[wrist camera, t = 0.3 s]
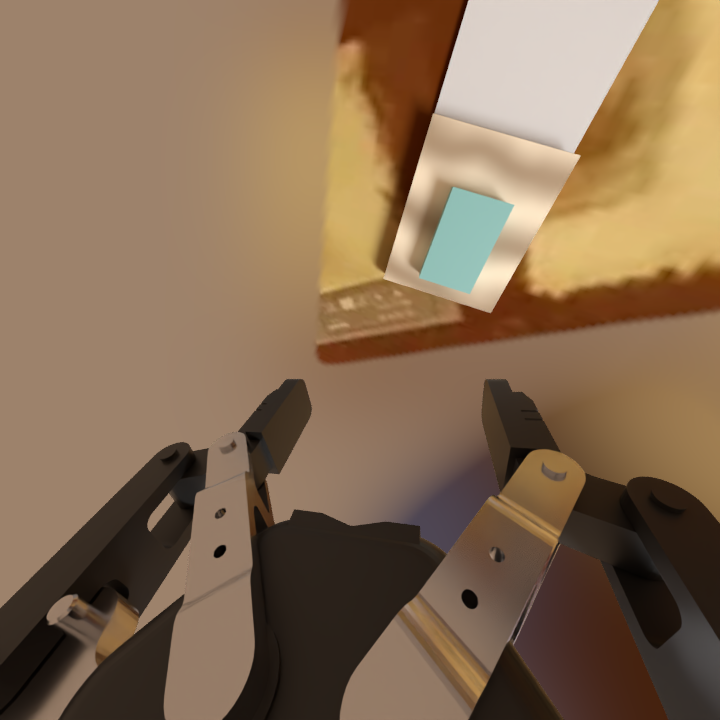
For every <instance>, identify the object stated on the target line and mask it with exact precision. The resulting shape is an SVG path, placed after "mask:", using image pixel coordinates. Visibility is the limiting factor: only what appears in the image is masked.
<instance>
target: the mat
mask: <svg viewBox="0 0 720 720" xmlns="http://www.w3.org/2000/svg"><path fill="white" fill-rule="evenodd" d="M658 1H659V0H469V1H468V4H467V7H466V11H465V14H464V17H463V20H462V24H461V27H460V30H459V34H458V37H457V40H456V44H455V47H454V50H453V53H452V57H451V60H450V63H449V67H448V70H447V73H446V77H445V80H444V83H443V87H442V90H441V93H440V96H439V100H438V103H437V106H436V110H435V113H434V114H438V115H441V116H445V117H448V118H452V119H455V120H459V121H462V122H466V123H469V124H472V125H476V126H479V127H483V128H486V129H490V130H493V131H497V132H500V133H504V134H507V135H511V136H514V137H518V138H521V139H525V140H528V141H531V142H535V143H538V144H542V145H545V146H549V147H552V148H556V149H559V150H563V151H566V152H570V153H574V152H575V150H576V148H577V146H578V144H579V143H580V141H581V139H582V137H583V135H584V134H585V132H586V130H587V128H588V126H589V125H590V123H591V121H592V119H593V117H594V116H595V114H596V112H597V110H598V109H599V107H600V105H601V103H602V101H603V100H604V98H605V96H606V94H607V92H608V91H609V89H610V87H611V85H612V83H613V82H614V80H615V78H616V76H617V74H618V73H619V71H620V69H621V67H622V65H623V64H624V62H625V60H626V58H627V56H628V55H629V53H630V51H631V49H632V48H633V46H634V44H635V42H636V40H637V39H638V37H639V35H640V33H641V31H642V30H643V28H644V26H645V24H646V22H647V21H648V19H649V17H650V15H651V13H652V12H653V10H654V8H655V6H656V4H657V3H658Z"/></svg>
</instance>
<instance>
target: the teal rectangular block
mask: <svg viewBox="0 0 720 720" xmlns="http://www.w3.org/2000/svg"><path fill="white" fill-rule="evenodd" d="M513 207H514V205H513V204H510V203H506V202H503V201H500V200H496V199H493V198H490V197H487V196H483V195H480V194H477V193H473V192H470V191H467V190H463V189H460V188H457V187H451V190H450V192H449V195H448V198H447V200H446V203H445V206H444V208H443V211H442V214H441V216H440V219H439V222H438V224H437V227H436V230H435V232H434V235H433V238H432V241H431V243H430V246H429V249H428V251H427V254H426V257H425V259H424V262H423V265H422V267H421V270H420V273H419V278H420V279H424V280H427V281H430V282H433V283H436V284H439V285H442V286H446V287H449V288H452V289H455V290H458V291H461V292H464V293H468V294H470V293H471V291H472V289H473V287H474V285H475V283H476V281H477V279H478V277H479V275H480V273H481V271H482V269H483V267H484V265H485V263H486V261H487V259H488V257H489V255H490V253H491V251H492V249H493V247H494V245H495V243H496V241H497V239H498V237H499V235H500V233H501V231H502V229H503V227H504V225H505V223H506V221H507V219H508V217H509V215H510V213H511V211H512V209H513Z"/></svg>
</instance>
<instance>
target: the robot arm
mask: <svg viewBox="0 0 720 720" xmlns="http://www.w3.org/2000/svg"><path fill="white" fill-rule="evenodd" d="M311 410H312V407H311V402H310V399H309V395H308V392H307V388H306V385H305V382H304V380H302V379H287V380H285V381H284V383H283V384H282V385H281V386H280V388H279V389H276V390H275V391H273V392H272V393H271V394H269V395H268V396H267V397H266V398H265V399H264V401H263V402H262V403H261V405H259V407H258V408H257V409H256V411H254V413H253V414H252V415H251V417H250V418H249V419H248V420H247V421H246V423H245V424H244V425H243V426H242V427H241V429H240V430H239V431H238V432H232V433H229V434H226V435H224V436H222V437H220V438H219V439H217V440H216V441H215V442H214V443H213V444H212V445H211V447H210V448H207V449H202V450H197V451H192V449H191V447H190V446H189V444H187V443H184V442H180V443H176V444H173V445H170V446H168V447H166V448H164V449H162V450H161V451H160V452H158V453H157V454H156V455H155V456H154V457H153V458H152V459H151V460H150V461H149V462H148V463H147V464H146V465H145V466H144V467H143V468H142V469H141V470H140V471H139V472H138V473H137V474H136V475H135V476H134V477H133V478H132V479H131V480H130V481H129V482H128V483H127V484H125V486H124V487H122V488H121V490H119V491H118V492H117V493H116V494H115V495H114V496H113V498H111V499H110V500H109V501H108V503H106V504H105V505H104V506H103V507H102V508H101V509H100V510H99V511H98V512H97V513H96V514H95V515H94V516H93V517H92V518H91V519H90V520H89V521H88V522H87V523H86V524H85V525H84V526H83V527H82V528H81V529H80V530H79V531H78V532H77V533H76V534H75V535H74V536H73V537H72V538H71V539H70V540H69V541H68V542H67V543H66V544H65V545H64V546H63V547H62V548H61V549H60V550H59V551H58V552H57V553H56V554H55V555H54V556H53V557H52V558H51V559H50V560H49V561H48V562H47V563H46V564H45V565H44V566H43V567H42V568H41V569H40V570H39V571H38V572H37V573H36V574H35V575H34V576H33V577H32V578H31V579H30V580H29V581H28V582H27V583H26V584H25V585H24V586H23V587H22V588H21V589H20V590H18V591H17V592H16V593H15V595H13V596H12V597H11V598H10V599H9V600H8V601H7V603H5V604H4V605H3V606H2V607H1V608H0V720H564V719H563V717H562V716H561V714H560V713H559V712H558V710H557V708H556V707H555V706H554V704H553V703H552V701H551V700H550V698H549V697H548V695H547V694H546V692H545V691H544V689H543V688H542V687H541V685H540V684H539V682H538V681H537V679H536V678H535V676H534V675H533V674H532V672H531V671H530V669H529V668H528V666H527V665H526V663H525V662H524V660H523V659H522V657H521V656H520V655H519V653H518V652H517V650H516V649H515V647H514V646H513V645H514V643H515V641H516V639H517V637H518V634H519V632H520V630H521V628H522V626H523V624H524V622H525V619H526V617H527V615H528V613H529V610H530V608H531V606H532V604H533V601H534V599H535V597H536V595H537V592H538V590H539V588H540V586H541V584H542V582H543V579H544V577H545V575H546V573H547V571H548V569H549V567H550V565H551V562H552V560H553V558H554V556H555V554H556V552H557V550H558V548H559V545H560V544H563V545H565V546H568V547H570V548H572V549H575V550H577V551H580V552H582V553H585V554H587V555H590V556H592V557H594V558H596V559H599V560H600V561H601V563H602V566H603V568H604V570H605V573H606V575H607V577H608V580H609V582H610V584H611V587H612V589H613V591H614V593H615V596H616V598H617V601H618V603H619V605H620V608H621V610H622V612H623V614H624V617H625V619H626V621H627V624H628V626H629V629H630V631H631V633H632V635H633V638H634V640H635V642H636V645H637V647H638V649H639V652H640V654H641V656H642V659H643V661H644V663H645V666H646V668H647V670H648V673H649V675H650V677H651V680H652V682H653V684H654V687H655V689H656V691H657V694H658V696H659V698H660V701H661V703H662V705H663V708H664V709H665V712H666V715H667V717H668V719H669V720H720V523H719V522H718V521H717V520H716V518H715V517H714V516H713V515H712V514H711V513H710V511H709V510H708V509H707V508H706V507H705V506H704V505H703V504H702V502H700V501H699V500H698V499H697V498H696V497H694V496H693V495H691V494H690V493H688V492H687V491H685V490H684V489H682V488H680V487H678V486H676V485H674V484H672V483H669V482H667V481H664V480H661V479H657V478H652V477H636V478H633V479H631V480H630V481H629V482H628V484H627V486H624V485H621V484H617V483H614V482H610V481H607V480H604V479H600V478H597V477H594V476H591V475H589V474H586V473H585V472H584V471H583V469H582V468H581V467H580V465H578V463H577V462H575V461H574V460H572V459H571V458H570V457H568V456H566V455H564V454H562V453H561V452H560V450H559V448H558V446H557V445H556V443H555V441H554V439H553V437H552V436H551V433H550V432H549V430H548V428H547V426H546V424H545V423H544V421H543V420H542V417H541V415H540V413H538V410H537V408H536V406H535V404H534V402H533V401H532V400H531V399H530V398H529V397H527V396H526V395H525V394H524V393H522V392H512V390H511V388H510V386H509V384H508V381H507V380H506V379H486V380H485V382H484V391H483V401H482V423H483V427H484V431H485V435H486V439H487V443H488V447H489V451H490V454H491V458H492V462H493V466H494V470H495V474H496V477H497V481H498V485H499V489H500V494H499V495H498V496H497V497H496V496H494V495H492V496H491V497H490V498H489V499H488V500H487V501H486V502H485V504H484V505H483V506H482V508H481V509H480V511H479V512H478V513H477V515H476V516H475V517H474V519H473V520H472V521H471V523H470V524H469V525H468V527H467V528H466V529H465V531H464V532H463V534H462V535H461V536H460V538H459V539H458V540H457V542H456V543H455V544H454V546H453V547H452V548H451V550H450V551H449V553H448V554H446V553H445V552H444V551H443V550H441V549H440V548H439V547H438V546H436V545H434V544H433V543H431V542H429V541H427V540H425V539H423V538H421V537H420V526H415V525H407V524H400V523H392V522H380V523H372V524H366V525H358V526H350V525H347V524H345V523H343V522H341V521H338V520H336V519H334V518H332V517H329V516H327V515H325V514H323V513H317V512H310V511H302V510H294V511H293V514H292V516H291V518H290V520H287V521H283V522H280V523H277V524H275V522H274V518H273V512H272V507H271V501H270V496H269V490H268V484H267V481H266V479H265V478H266V477H267V475H268V473H274V474H280V472H281V470H282V468H283V466H284V464H285V463H286V461H287V459H288V457H289V455H290V454H291V452H292V450H293V448H294V446H295V444H296V442H297V440H298V439H299V437H300V435H301V433H302V431H303V429H304V427H305V426H306V424H307V422H308V420H309V418H310V416H311ZM168 493H169V494H170V495H171V497H172V498H173V499H174V503H173V504H172V505H171V506H170V508H169V509H168V510H167V512H166V513H165V514H164V515H163V517H162V518H161V519H160V520H159V522H158V523H157V524H156V526H155V527H154V528H153V529H152V531H151V532H150V531H149V530H148V528H147V523H148V519H149V517H150V515H151V514H152V512H153V511H154V510H155V509H156V508H157V507H158V505H159V504H160V503H161V502H162V500H163V499H164V498H165V497H166V496H167V494H168ZM190 539H191V541H190V550H189V560H188V568H187V578H186V588H185V594H184V595H182V596H181V597H180V598H179V599H177V600H176V601H175V602H174V603H172V604H171V605H170V606H169V607H168V608H167V609H165V610H164V611H163V612H161V613H160V614H159V615H158V616H156V617H155V618H154V619H153V620H152V621H150V622H149V623H148V624H146V625H145V626H144V627H143V628H142V629H141V630H139V631H138V632H137V633H135V634H134V632H135V630H136V627H137V625H138V620H139V618H140V616H141V614H142V613H143V611H144V610H145V608H146V607H147V605H148V604H149V602H150V601H151V599H152V597H153V596H154V594H155V593H156V591H157V590H158V588H159V587H160V585H161V584H162V582H163V581H164V579H165V578H166V576H167V574H168V573H169V571H170V570H171V568H172V567H173V565H174V564H175V562H176V560H177V559H178V557H179V556H180V554H181V553H182V551H183V550H184V548H185V547H186V545H187V544H188V542H189V540H190Z"/></svg>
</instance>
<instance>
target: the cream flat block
mask: <svg viewBox="0 0 720 720" xmlns="http://www.w3.org/2000/svg"><path fill="white" fill-rule="evenodd" d="M579 158H580V155H577V154H573V153H570V152H566V151H563V150H559V149H556V148H552V147H549V146H545V145H542V144H538V143H535V142H531V141H528V140H525V139H521V138H518V137H514V136H511V135H507V134H504V133H500V132H497V131H493V130H490V129H486V128H483V127H479V126H476V125H472V124H469V123H466V122H462V121H459V120H455V119H452V118H448V117H445V116H441V115H438V114H434V113H433V115H432V119H431V122H430V125H429V129H428V132H427V135H426V139H425V142H424V145H423V149H422V152H421V155H420V159H419V162H418V165H417V169H416V172H415V175H414V179H413V182H412V185H411V189H410V192H409V195H408V199H407V202H406V205H405V209H404V212H403V215H402V219H401V222H400V225H399V229H398V232H397V235H396V239H395V242H394V245H393V249H392V252H391V255H390V258H389V262H388V265H387V268H386V272H385V275H384V278H383V279H386V280H389V281H392V282H395V283H398V284H401V285H405V286H408V287H411V288H414V289H417V290H420V291H423V292H426V293H430V294H433V295H436V296H439V297H442V298H445V299H448V300H451V301H455V302H458V303H461V304H464V305H467V306H470V307H473V308H476V309H480V310H483V311H486V312H489V313H491V312H492V310H493V308H494V306H495V305H496V303H497V301H498V299H499V298H500V296H501V294H502V292H503V291H504V289H505V287H506V285H507V284H508V282H509V280H510V278H511V277H512V275H513V273H514V271H515V270H516V268H517V266H518V264H519V263H520V261H521V259H522V257H523V256H524V254H525V252H526V250H527V249H528V247H529V245H530V243H531V242H532V240H533V238H534V236H535V235H536V233H537V231H538V229H539V228H540V226H541V224H542V222H543V221H544V219H545V217H546V215H547V214H548V212H549V210H550V208H551V207H552V205H553V203H554V201H555V200H556V198H557V196H558V194H559V193H560V191H561V189H562V187H563V186H564V184H565V182H566V180H567V179H568V177H569V175H570V173H571V172H572V170H573V168H574V166H575V165H576V163H577V161H578V159H579ZM451 187H457V188H460V189H463V190H467V191H470V192H473V193H477V194H480V195H483V196H487V197H490V198H493V199H496V200H500V201H503V202H506V203H510V204H513V205H514V207H513V209H512V211H511V213H510V215H509V217H508V219H507V221H506V223H505V225H504V227H503V229H502V231H501V233H500V235H499V237H498V239H497V241H496V243H495V245H494V247H493V249H492V251H491V253H490V255H489V257H488V259H487V261H486V263H485V265H484V267H483V269H482V271H481V273H480V275H479V277H478V279H477V281H476V283H475V285H474V287H473V289H472V291H471V293H470V294H468V293H464V292H461V291H458V290H455V289H452V288H449V287H446V286H442V285H439V284H436V283H433V282H430V281H427V280H424V279H420V278H419V273H420V270H421V267H422V265H423V262H424V259H425V257H426V254H427V251H428V249H429V246H430V243H431V241H432V238H433V235H434V232H435V230H436V227H437V224H438V222H439V219H440V216H441V214H442V211H443V208H444V206H445V203H446V200H447V198H448V195H449V192H450V190H451Z"/></svg>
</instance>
